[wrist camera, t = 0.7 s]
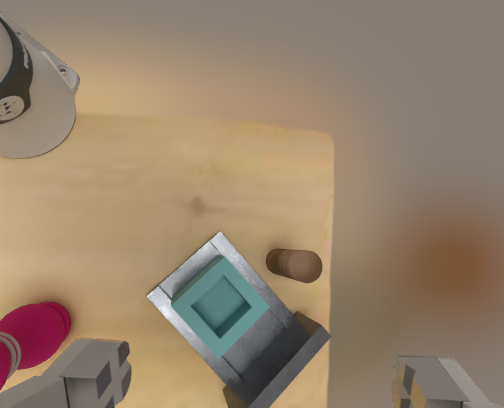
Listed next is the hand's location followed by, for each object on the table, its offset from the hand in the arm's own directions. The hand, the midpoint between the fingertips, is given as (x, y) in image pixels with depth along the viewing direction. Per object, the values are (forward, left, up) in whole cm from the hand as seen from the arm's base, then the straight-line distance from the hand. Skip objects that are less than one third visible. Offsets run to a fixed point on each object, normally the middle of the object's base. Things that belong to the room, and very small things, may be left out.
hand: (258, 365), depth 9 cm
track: (+8, -1, -39) cm, 39 cm away
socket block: (+5, -1, -38) cm, 38 cm away
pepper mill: (-8, -20, -39) cm, 44 cm away
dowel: (+8, +10, -39) cm, 41 cm away
